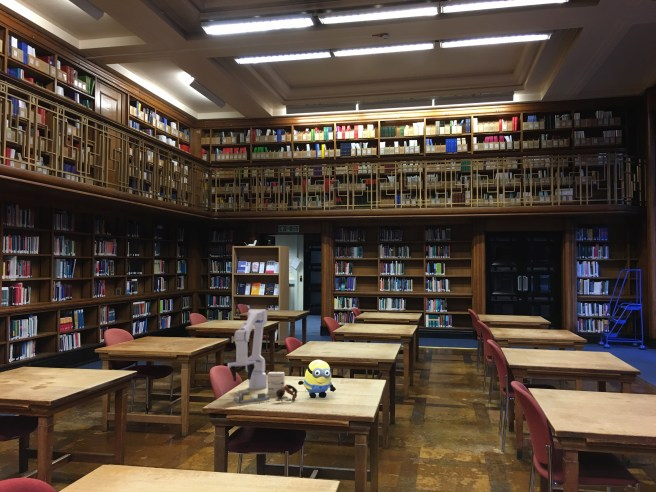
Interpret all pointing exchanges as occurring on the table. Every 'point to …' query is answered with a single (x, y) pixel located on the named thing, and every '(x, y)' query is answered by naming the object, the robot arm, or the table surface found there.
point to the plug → (243, 394)
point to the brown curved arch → (287, 389)
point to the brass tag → (246, 397)
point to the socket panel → (252, 399)
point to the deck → (235, 394)
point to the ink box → (275, 381)
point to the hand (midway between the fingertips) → (241, 380)
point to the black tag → (261, 395)
